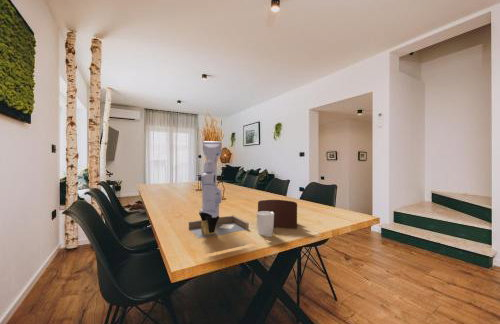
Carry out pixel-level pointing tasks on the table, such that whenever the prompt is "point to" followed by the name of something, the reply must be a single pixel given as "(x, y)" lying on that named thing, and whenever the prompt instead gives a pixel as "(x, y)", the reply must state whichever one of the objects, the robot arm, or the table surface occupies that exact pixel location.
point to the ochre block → (206, 228)
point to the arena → (220, 226)
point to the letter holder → (281, 212)
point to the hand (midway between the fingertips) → (208, 229)
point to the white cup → (265, 223)
